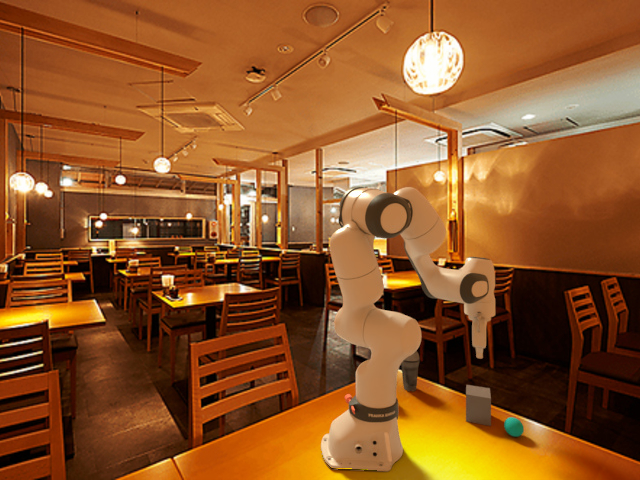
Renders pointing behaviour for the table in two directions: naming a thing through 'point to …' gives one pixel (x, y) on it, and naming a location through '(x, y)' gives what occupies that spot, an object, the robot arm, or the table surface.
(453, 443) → the table surface
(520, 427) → the ball
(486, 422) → the matte grey cube
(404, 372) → the beverage cup
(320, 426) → the table surface
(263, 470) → the table surface
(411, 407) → the table surface
